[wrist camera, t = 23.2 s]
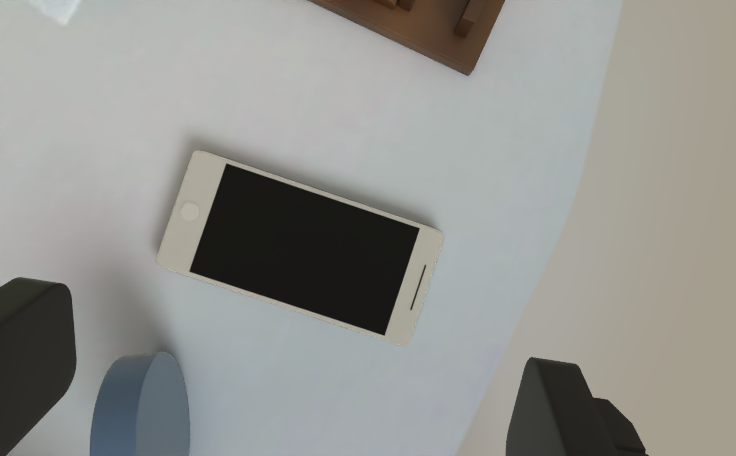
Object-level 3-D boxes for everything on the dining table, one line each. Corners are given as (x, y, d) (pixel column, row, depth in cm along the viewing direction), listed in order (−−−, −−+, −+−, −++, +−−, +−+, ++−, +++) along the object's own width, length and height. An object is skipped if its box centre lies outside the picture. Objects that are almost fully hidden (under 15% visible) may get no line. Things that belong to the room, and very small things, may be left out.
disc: (191, 365, 34) (140, 336, 26) (188, 518, 31) (129, 537, 23) (158, 369, 34) (97, 340, 26) (152, 523, 31) (80, 542, 23)
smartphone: (198, 149, 33) (193, 147, 32) (443, 232, 34) (446, 232, 33) (158, 264, 33) (152, 265, 32) (406, 345, 33) (408, 348, 32)
